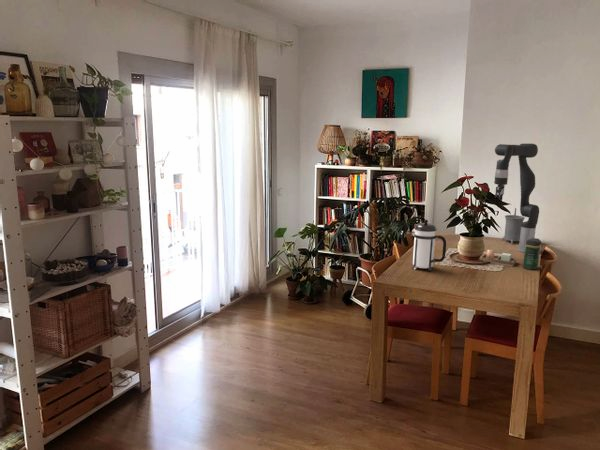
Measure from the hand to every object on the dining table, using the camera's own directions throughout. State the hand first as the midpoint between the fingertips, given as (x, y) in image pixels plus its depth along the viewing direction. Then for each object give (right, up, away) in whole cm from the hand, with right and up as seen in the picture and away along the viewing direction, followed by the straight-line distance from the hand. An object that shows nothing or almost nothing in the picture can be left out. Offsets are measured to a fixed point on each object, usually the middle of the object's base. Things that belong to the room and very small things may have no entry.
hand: (498, 202), depth 306 cm
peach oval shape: (-3, -37, +6) cm, 37 cm away
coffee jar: (+16, -41, -8) cm, 45 cm away
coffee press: (-50, -41, -13) cm, 66 cm away
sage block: (+5, -38, +1) cm, 38 cm away
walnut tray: (+1, -38, +3) cm, 38 cm away
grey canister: (+34, -27, +59) cm, 74 cm away
